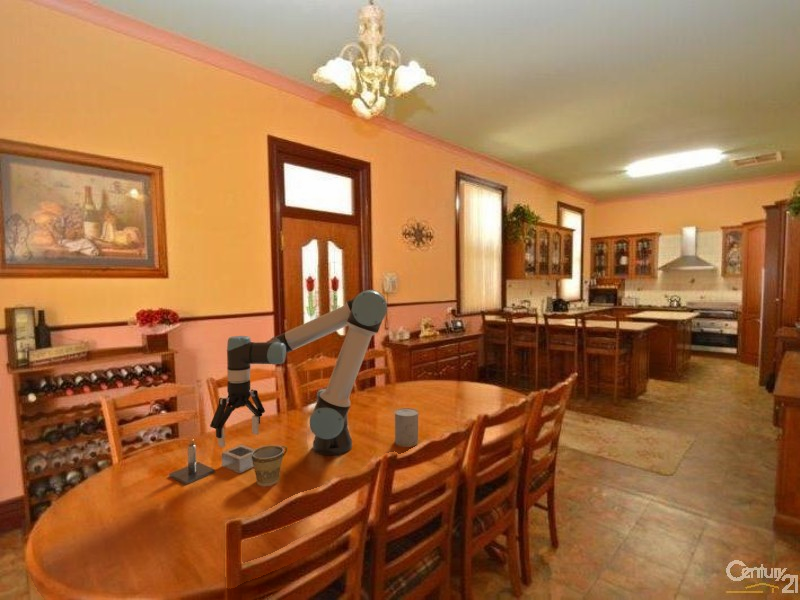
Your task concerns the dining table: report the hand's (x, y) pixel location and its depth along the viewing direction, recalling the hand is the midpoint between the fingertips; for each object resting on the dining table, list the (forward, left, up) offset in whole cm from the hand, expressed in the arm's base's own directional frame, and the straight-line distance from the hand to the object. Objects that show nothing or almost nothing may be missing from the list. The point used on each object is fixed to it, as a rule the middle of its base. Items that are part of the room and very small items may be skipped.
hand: (239, 439), depth 141 cm
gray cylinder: (-39, -50, -10) cm, 64 cm away
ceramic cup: (-18, 0, -9) cm, 20 cm away
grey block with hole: (0, 0, -9) cm, 9 cm away
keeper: (+8, +13, -9) cm, 17 cm away
